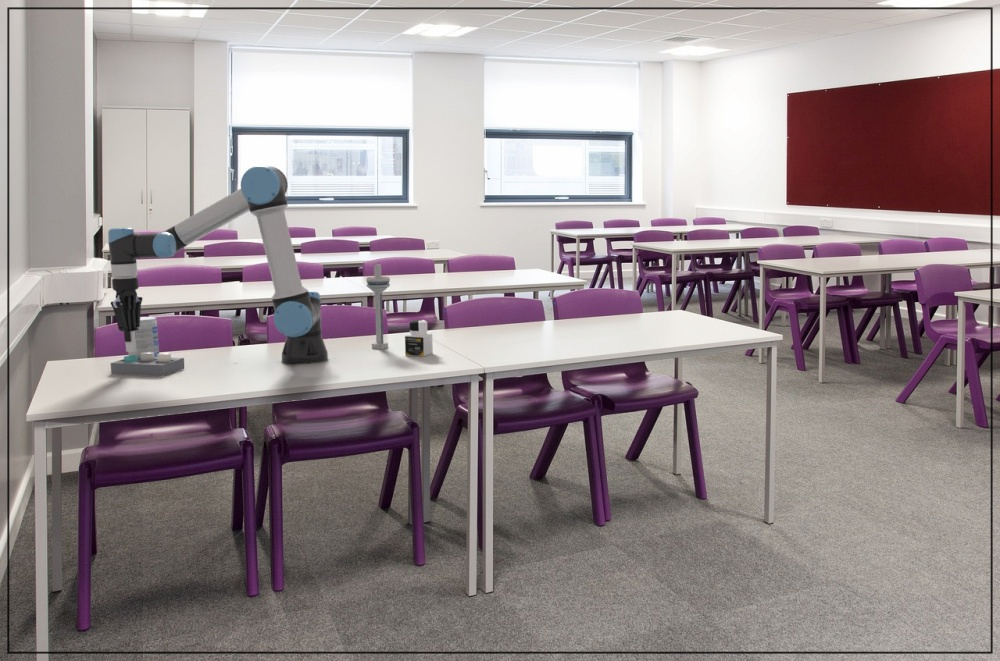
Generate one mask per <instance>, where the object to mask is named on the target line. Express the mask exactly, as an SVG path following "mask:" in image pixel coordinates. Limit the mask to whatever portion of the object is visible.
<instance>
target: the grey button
mask: <svg viewBox="0 0 1000 661" xmlns="http://www.w3.org/2000/svg"><path fill="white" fill-rule="evenodd" d="M140 356H141V362H152V361H154V353H153V352H145V353H141V354H140Z"/></svg>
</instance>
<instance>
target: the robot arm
mask: <svg viewBox="0 0 1000 661" xmlns="http://www.w3.org/2000/svg"><path fill="white" fill-rule="evenodd" d="M288 189H289V188H288V179H287V177H286V175H285V174H284V172H283V171H281V170H280V169H279V168H277V167H275V166H270V165H269V166H268V165H264V164H259V165H255V166H252V167H250V168H248V169H247V170H246V171H245V172H244V174H243V175H242V177H241V179H240V188H239V189H237V190H236V191H234V192H232V193H230V194H228V195H227V196H225V197H223V198H221V199H220V200H218V201H216V202H214V203H213V204H211V205H209V206H207V207H205V208H203V209H202V210H200V211H198V212H197V213H195V214H193V215H191V216H189V217H188V218H186V219H184V220H182V221H180V222H179V223H177V224H175V225H173V226H171V227H169V228H167V229H166V230H164V231H161V232H153V233H136V232H135V230H134V228H132V227H113V228H110V229H109V230H108V233H107V234H108V237H107V238H108V239H107V241H108V244H107V245H108V249H109V259H110V269H111V270H110V271H111V277H112V279H111V281H112V282H111V284H112V290H113V291H115V300H113V301H111V302H110V305H111V307H112V309H113V313H114V315H115V320H116V325H117V329H118V330H119V332H123V335H124V336H123V338H124V342H125V352H126V353H129V352H135V351H137V350H136V333H135V330H138V329H139V328H137V327H140V317H141V310H142V302H143V297H142V296H138V293H137V290H138V289H140V288H139V279H138V277H137V276H138V275H139V273H138V263H137V259H146V258H147V259H151V258H153V259H154V258H155V259H156V258H160V259H164V258H172V257H174V256H175V255H176V254H177V253H179V252H181V251H182V249H184V248H186V247H188V246H189V245H190V244H193V243H195V242H196V241H198V240H200V239H202V238H203V237H205V236H208V235H209V234H210V233H212V232H214V231H216V230H218V229H220V228H221V227H223V226H225V225H226V224H228V223H230V222H233V221H234V220H236V219H239V217H241V216H243V215H245V214H246V213H249V212H250V214H252V215H253V216H254V217H256V220H257V224H258V229H259V233H260V235H261V239H262V240H261V241H262V244H263V249H264V253H265V255H266V256H265V257H266V259H267V260H266V261H267V264H268V269H269V272H270V276H271V281H272V285H273V289H274V293H273V295H272V296H271V300H272V306H273V309H274V313H273V324H274V326H275V328H276V330H277V331H278V332H279V333H281V334H282V335H284V336H285V337H286V338H285V342H284V344H283V348H282V351H281V362H283V363H285V364H286V363H287V364H294V365H295V364H299V365H301V364H313V363H314V364H315V363H316V364H317V363H320V362H325V361H327V360H328V359H329V355H328V354H329V353H328V349H327V347H326V344H325V342H324V339H323V336H322V310H321V303H322V299H321V295H320V293H319V292H318V291H309V290H308V289H307V288H305V287H304V286H303V284H302V280H301V275H300V271H299V267H298V264H297V259H296V255H295V251H294V246H293V242H292V239H291V235H290V231H289V229H290V228H289V224H288V222H287V218H286V213H285V211H286V209H287V207H288V204H289V203H288V201H287V197H286V193H287V191H288Z"/></svg>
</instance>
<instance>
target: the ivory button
mask: <svg viewBox="0 0 1000 661" xmlns="http://www.w3.org/2000/svg"><path fill="white" fill-rule="evenodd" d="M157 357H158V363H168V362H171V357H172V354H171V352H159V354H157Z"/></svg>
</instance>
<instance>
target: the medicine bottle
mask: <svg viewBox="0 0 1000 661" xmlns="http://www.w3.org/2000/svg"><path fill="white" fill-rule="evenodd" d="M404 347H405V348H404V350H405V352H404V353H405V356H406V357H418V358H425V357H426V356H430V355H432V354H433V353H434V352H433V347H434V346H433V333H431V332H428V321H426V320H424V319H414V320H411V321H410V322H409V334H406V335H405V336H404Z"/></svg>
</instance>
